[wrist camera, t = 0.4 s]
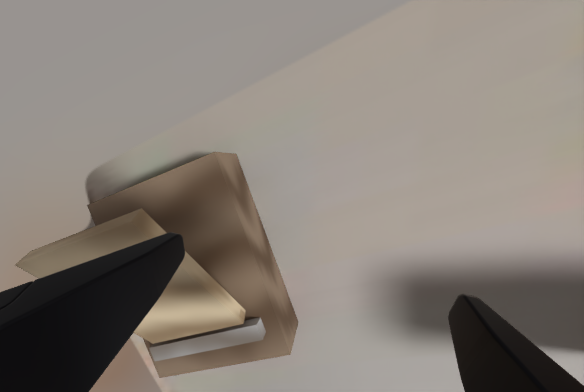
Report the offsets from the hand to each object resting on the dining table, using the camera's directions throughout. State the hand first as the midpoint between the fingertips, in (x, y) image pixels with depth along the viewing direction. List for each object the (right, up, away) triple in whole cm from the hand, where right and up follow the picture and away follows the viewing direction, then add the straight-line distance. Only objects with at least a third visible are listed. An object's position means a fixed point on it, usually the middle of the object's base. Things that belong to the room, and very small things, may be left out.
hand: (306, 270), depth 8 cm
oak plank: (-12, -5, +11) cm, 17 cm away
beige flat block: (-10, -5, +19) cm, 22 cm away
